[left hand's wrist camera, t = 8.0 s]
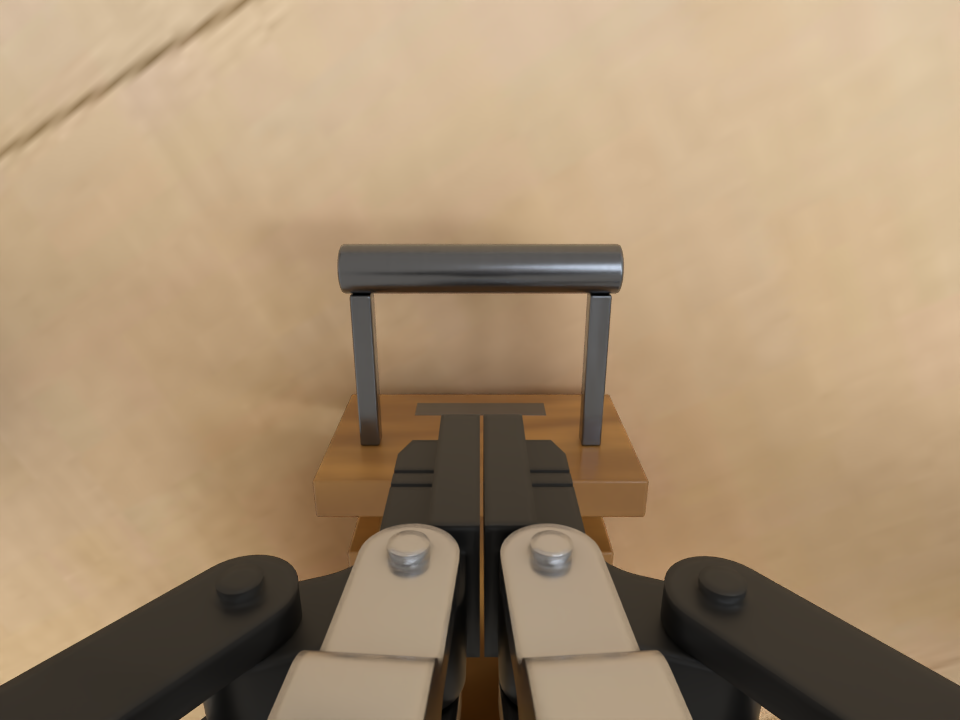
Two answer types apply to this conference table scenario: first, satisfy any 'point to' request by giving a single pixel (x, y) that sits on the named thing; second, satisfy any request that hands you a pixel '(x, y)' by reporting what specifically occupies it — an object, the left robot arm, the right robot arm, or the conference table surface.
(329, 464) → the drawer
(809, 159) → the conference table surface
